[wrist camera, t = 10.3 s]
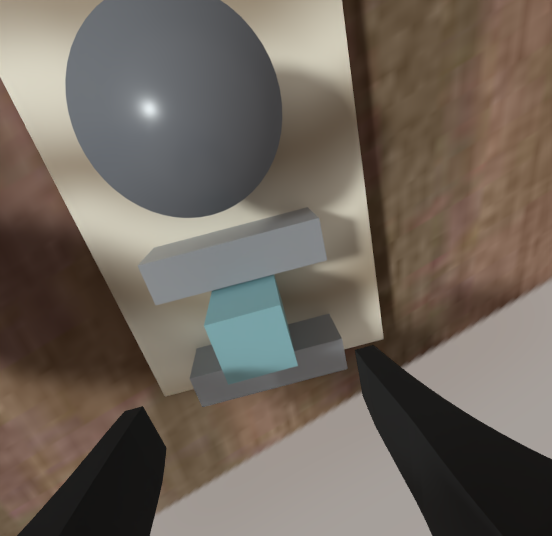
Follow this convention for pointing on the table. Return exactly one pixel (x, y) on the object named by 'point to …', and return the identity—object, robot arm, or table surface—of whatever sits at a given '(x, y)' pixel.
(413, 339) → the table surface
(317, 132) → the board
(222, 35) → the bobbin
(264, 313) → the peg
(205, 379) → the gray parallel rails
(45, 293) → the table surface
